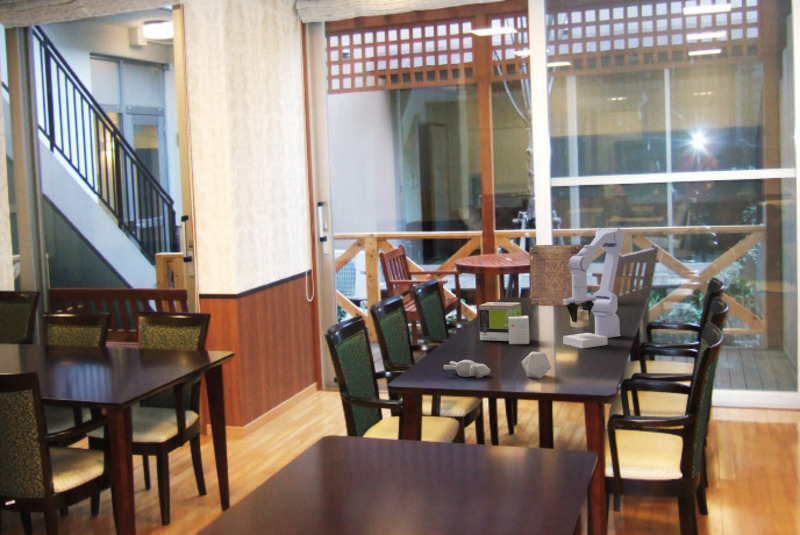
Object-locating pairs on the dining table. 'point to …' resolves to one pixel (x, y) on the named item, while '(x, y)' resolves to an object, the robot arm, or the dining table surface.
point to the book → (551, 273)
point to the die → (536, 364)
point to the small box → (518, 329)
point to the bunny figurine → (468, 368)
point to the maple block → (580, 319)
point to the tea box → (496, 320)
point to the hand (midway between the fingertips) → (580, 321)
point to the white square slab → (585, 340)
